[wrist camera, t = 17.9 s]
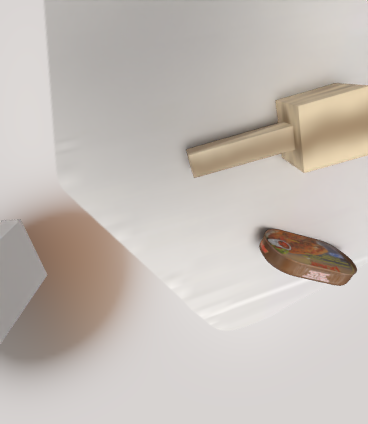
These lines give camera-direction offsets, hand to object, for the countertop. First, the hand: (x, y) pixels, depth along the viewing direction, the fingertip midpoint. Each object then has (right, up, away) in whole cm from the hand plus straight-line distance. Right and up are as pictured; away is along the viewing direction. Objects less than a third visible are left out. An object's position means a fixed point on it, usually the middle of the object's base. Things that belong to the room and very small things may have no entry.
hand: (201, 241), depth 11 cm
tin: (+18, -4, +39) cm, 43 cm away
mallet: (+10, +12, +31) cm, 34 cm away
